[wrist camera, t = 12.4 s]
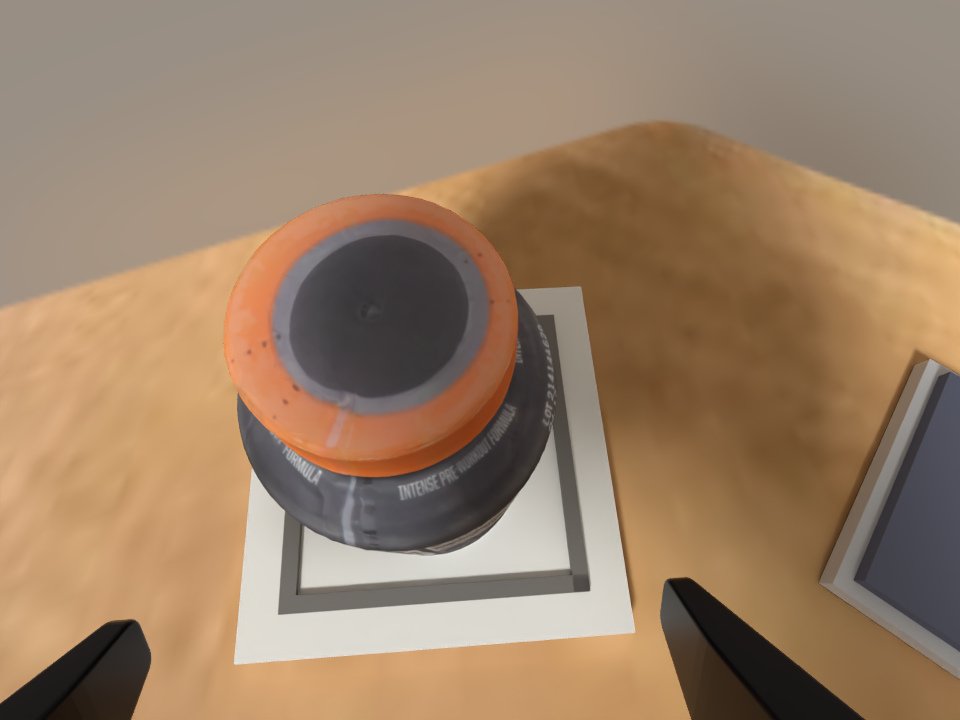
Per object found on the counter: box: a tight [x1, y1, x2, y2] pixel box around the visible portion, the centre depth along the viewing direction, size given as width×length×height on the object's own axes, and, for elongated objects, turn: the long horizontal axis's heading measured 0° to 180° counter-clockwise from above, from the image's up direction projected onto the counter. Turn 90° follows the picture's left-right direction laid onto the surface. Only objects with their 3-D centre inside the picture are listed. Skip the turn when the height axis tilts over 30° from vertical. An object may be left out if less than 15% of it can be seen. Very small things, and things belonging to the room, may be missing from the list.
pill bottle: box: [223, 194, 557, 556], centre depth 12 cm, size 6×6×11 cm
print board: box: [234, 286, 635, 665], centre depth 18 cm, size 12×12×1 cm
